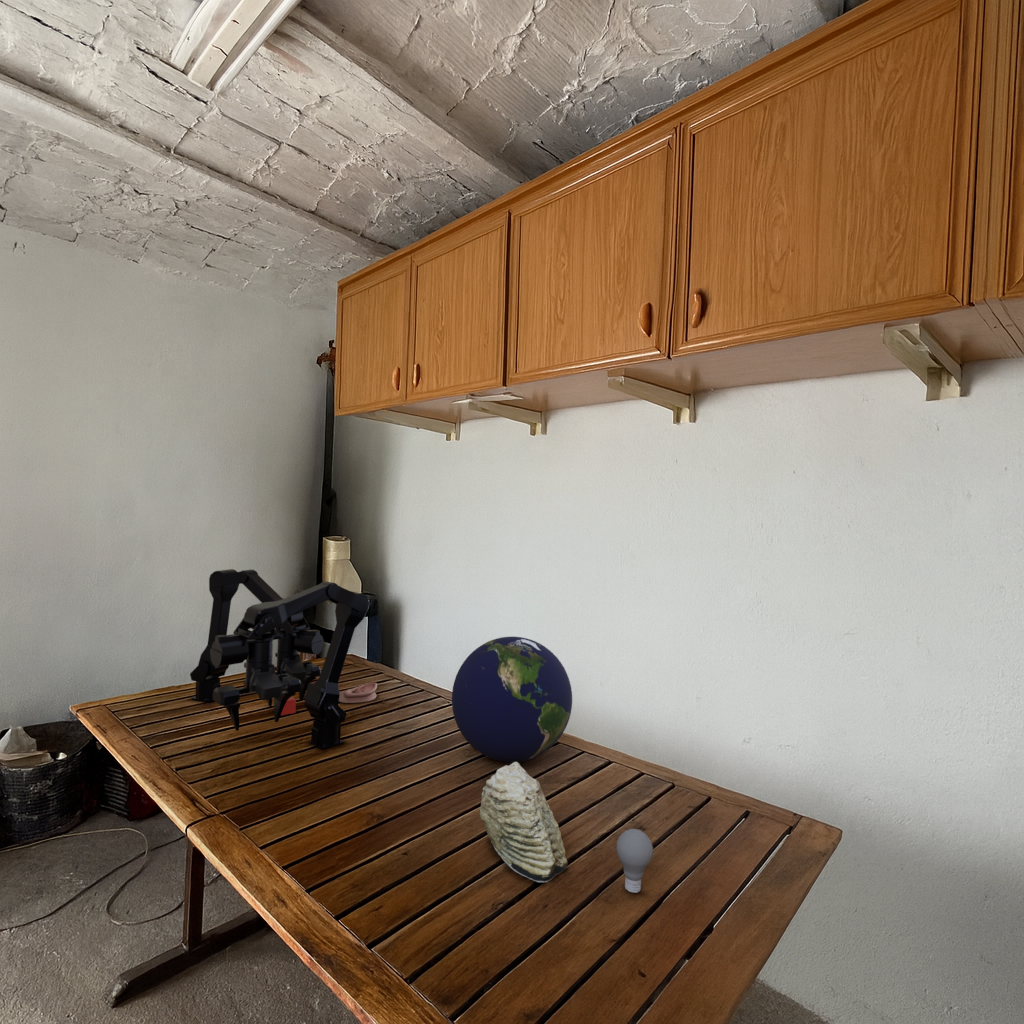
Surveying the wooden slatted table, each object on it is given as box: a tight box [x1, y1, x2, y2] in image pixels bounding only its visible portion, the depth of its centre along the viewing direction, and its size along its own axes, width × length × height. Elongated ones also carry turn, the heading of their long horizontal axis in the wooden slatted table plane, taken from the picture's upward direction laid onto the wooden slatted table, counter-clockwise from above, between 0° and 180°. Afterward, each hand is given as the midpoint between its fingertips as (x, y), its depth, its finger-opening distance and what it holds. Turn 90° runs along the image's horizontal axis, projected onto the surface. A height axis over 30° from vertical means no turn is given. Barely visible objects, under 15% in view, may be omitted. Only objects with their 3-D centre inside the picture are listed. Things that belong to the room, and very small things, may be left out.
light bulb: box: [615, 828, 654, 894], centre depth 106 cm, size 6×6×10 cm
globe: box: [451, 636, 573, 763], centre depth 158 cm, size 30×30×30 cm
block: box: [280, 696, 297, 717], centre depth 184 cm, size 4×4×4 cm
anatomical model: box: [339, 682, 378, 704], centre depth 199 cm, size 13×4×12 cm
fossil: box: [479, 762, 569, 883], centre depth 114 cm, size 9×18×15 cm, turn 46°
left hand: (285, 703), depth 184 cm, fingers open, 9 cm apart
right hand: (257, 725), depth 148 cm, fingers open, 9 cm apart
